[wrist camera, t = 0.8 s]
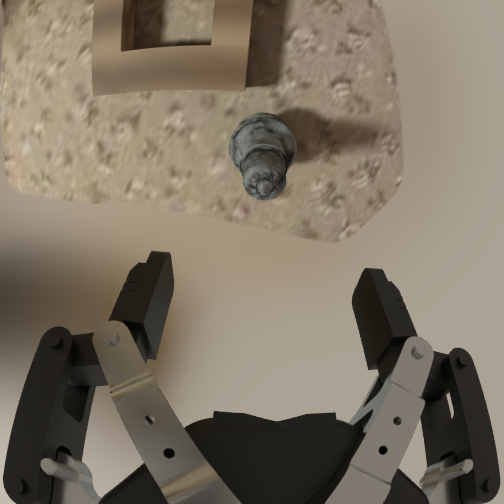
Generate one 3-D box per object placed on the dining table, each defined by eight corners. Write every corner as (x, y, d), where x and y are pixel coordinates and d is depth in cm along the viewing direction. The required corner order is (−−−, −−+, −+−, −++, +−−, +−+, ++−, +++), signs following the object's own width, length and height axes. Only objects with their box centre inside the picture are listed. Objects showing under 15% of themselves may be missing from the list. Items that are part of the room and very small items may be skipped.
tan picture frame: (115, -44, 13) (102, -50, 11) (260, -57, 13) (261, -69, 11) (107, 91, 23) (93, 96, 21) (245, 87, 23) (244, 91, 21)
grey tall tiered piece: (227, 114, 25) (207, 156, 16) (289, 106, 25) (310, 143, 15) (237, 169, 29) (226, 238, 19) (294, 162, 28) (314, 228, 19)
